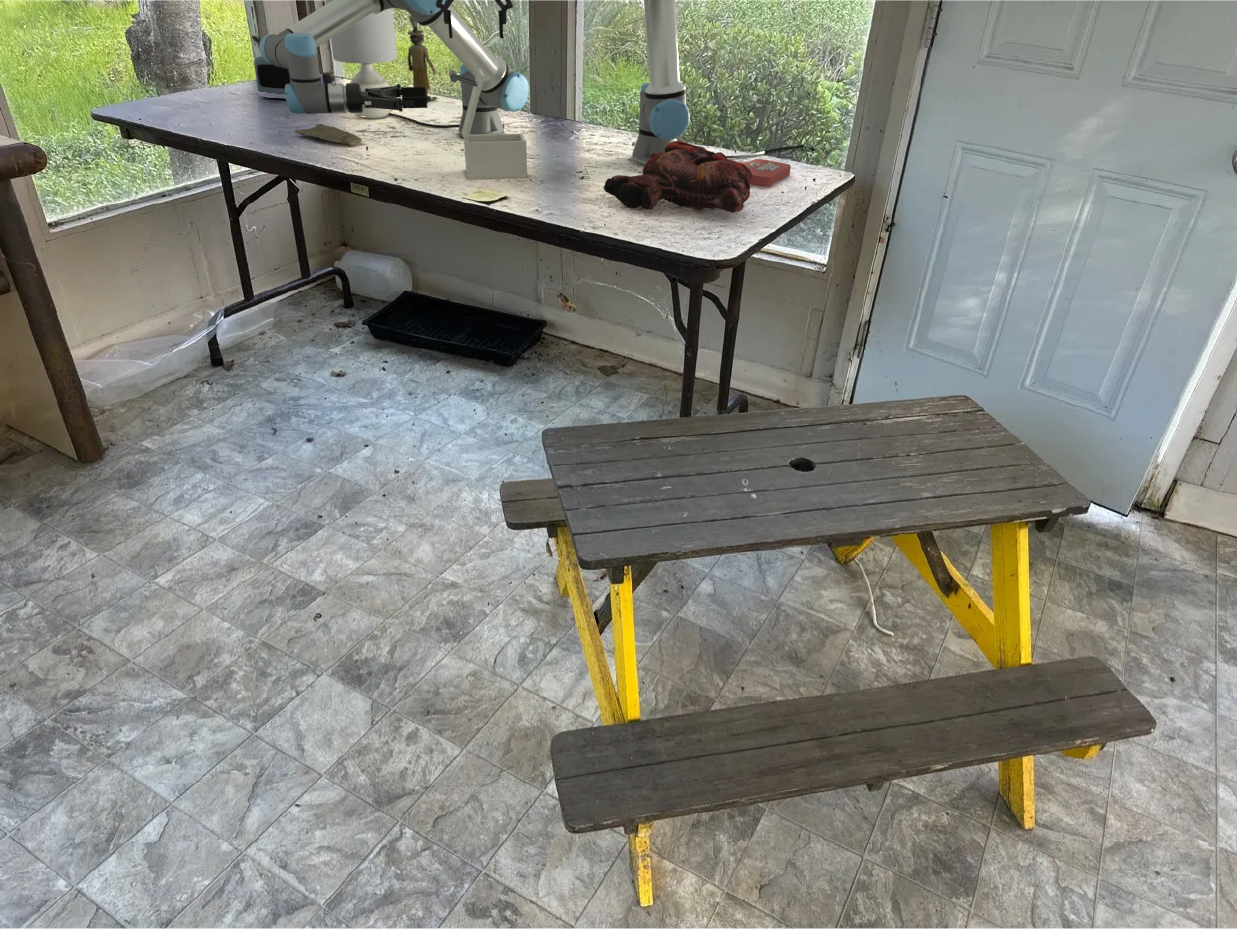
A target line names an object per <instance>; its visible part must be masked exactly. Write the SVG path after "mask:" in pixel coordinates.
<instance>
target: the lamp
mask: <svg viewBox="0 0 1237 929" xmlns="http://www.w3.org/2000/svg"><path fill="white" fill-rule="evenodd" d="M331 1H333V0H324V3H325V5H326V4H328V3H329V2H331ZM330 45H331V51H332V58H333V60H334V61H336V62H341V63H348V64H360V70H358V71H357V72H356V74H354V76H353V77H352V79H351V80H350V82H349V83H359V84H360V88H361V92H363V91H365V89H366V88H380V87H390V86H391V85H390V83H389V82H388V81H387V80H386V79H385V78H384V77H383V75H381V74H380V73H379V72H378V71H376V70H375V68H374V67H373V64H382V63H390V62H393V61H396V60H397V59H398V50H397V40H396V31H395V21H394V13H393V8H392V9H386V10H384V11H382V12H380V13H379V14H373V13H371V14H369V15H368V16H366V17H365V18H363V19H361V20H360V21H358V22H357V23H355V24H353V25H352V26H350V27H349V28H347V29H345V30H344V31H342V32H341V33H339V34H337V35H336V36H334V37H333V38H331V39H330ZM392 111H393V110H390V109H379V108H365V105H363V112H362V113H354V115H356V116H358V117H360V118H362V119H368V120H369V119H370V120H371V119H372V120H375V119H382V118H385V117H387V116H389V115H388V114H389V113H392ZM361 116H365V117H361Z"/></svg>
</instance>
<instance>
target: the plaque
mask: <svg viewBox="0 0 1237 929" xmlns="http://www.w3.org/2000/svg"><path fill="white" fill-rule="evenodd" d="M739 162H740V163H742V164H744V165H745V166H746V167H747V168H749V169H750V171H751V173H752V178H751V180H750V186H751V185H752V186H755V187H762V188H769V187H772V186H773V185H775V184H777V183H779V182H780V181H782V180H784V179H786V178H788V177H789V176H790V175H791V168H792V165H791V164H789V163H786V162H781V161H775V160H769V159H763V158H754V159H752V160H749V161H739Z"/></svg>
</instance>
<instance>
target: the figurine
mask: <svg viewBox="0 0 1237 929" xmlns="http://www.w3.org/2000/svg"><path fill="white" fill-rule="evenodd" d="M408 18H409V21H410V24H411V26H412V30H411V31H408V32H407V34H408V35H409V39H410V42H411V44H412V45H410V46H409V47H408V50H407V51H408V53H407V65H408V71H409V72H412V76H413V78H412V87H425V97H426V99H427V102H430V101H434V100H436V99H437V97H436V96H429V95H428V94H429V93H428V90H430V87H431V85H430V81H429V76H428V75H429V74H428V66H427V65H429V68H431V71H432V74H433V76H434V77H435V75H436V72H437V71H436V70H437V69H436V68H435V66H434V64H433V63H432V61H431V59H430V57H429V52H428V48H427V47H426V46H425V45H423V44H424V42H425V35H424V31H423V30H420V29H418V25H419V23H418V22H417V21H416V20H415V19H414V18H413V17H412V16H411V15H410V14H409V16H408ZM431 97H432V98H431Z"/></svg>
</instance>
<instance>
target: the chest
mask: <svg viewBox="0 0 1237 929" xmlns="http://www.w3.org/2000/svg"><path fill="white" fill-rule="evenodd" d="M463 148H464V159H465V161H464V162H465V172H466V175H467V179H468V180H481V179H483V180H484V179H513V178H514V179H515V178H517V179H518V178H528V155H527V154H528V153H527V150H528V149H527V140H526V139H525V136H524V134H523V133H504V134H481V135H469V138H468V141H465V140H464V139H463Z"/></svg>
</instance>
